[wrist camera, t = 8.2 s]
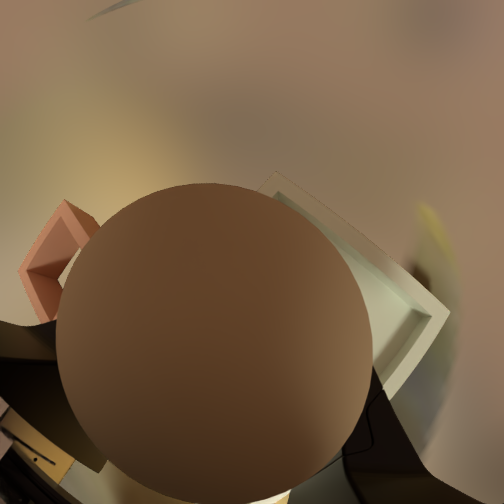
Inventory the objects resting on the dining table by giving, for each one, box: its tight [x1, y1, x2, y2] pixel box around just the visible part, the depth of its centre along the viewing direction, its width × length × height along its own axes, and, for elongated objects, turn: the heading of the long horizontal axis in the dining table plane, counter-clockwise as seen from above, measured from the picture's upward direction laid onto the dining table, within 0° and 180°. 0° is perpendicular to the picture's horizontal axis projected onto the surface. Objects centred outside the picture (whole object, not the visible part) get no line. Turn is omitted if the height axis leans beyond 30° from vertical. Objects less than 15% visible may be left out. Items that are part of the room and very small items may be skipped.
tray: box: [194, 171, 450, 504], centre depth 15 cm, size 20×14×2 cm
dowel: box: [56, 183, 373, 504], centre depth 9 cm, size 4×4×12 cm
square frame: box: [18, 199, 100, 324], centre depth 18 cm, size 8×8×4 cm
